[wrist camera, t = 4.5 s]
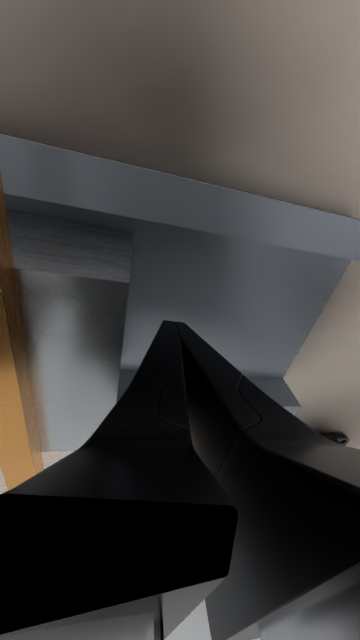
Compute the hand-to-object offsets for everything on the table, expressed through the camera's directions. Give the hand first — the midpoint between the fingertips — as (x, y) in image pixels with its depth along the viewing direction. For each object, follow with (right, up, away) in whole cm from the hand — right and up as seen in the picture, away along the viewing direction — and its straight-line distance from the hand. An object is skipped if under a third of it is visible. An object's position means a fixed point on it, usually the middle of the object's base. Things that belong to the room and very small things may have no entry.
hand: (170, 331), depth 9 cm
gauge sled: (-4, +1, 0) cm, 5 cm away
